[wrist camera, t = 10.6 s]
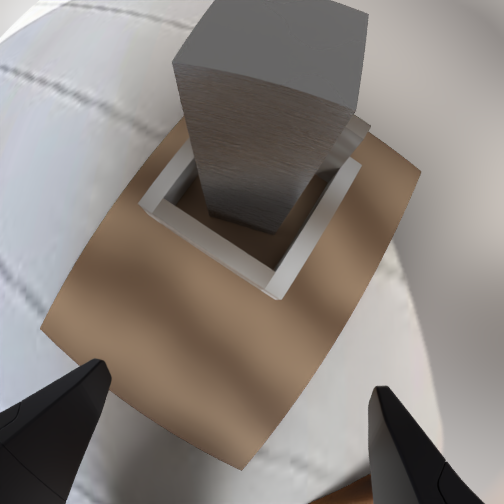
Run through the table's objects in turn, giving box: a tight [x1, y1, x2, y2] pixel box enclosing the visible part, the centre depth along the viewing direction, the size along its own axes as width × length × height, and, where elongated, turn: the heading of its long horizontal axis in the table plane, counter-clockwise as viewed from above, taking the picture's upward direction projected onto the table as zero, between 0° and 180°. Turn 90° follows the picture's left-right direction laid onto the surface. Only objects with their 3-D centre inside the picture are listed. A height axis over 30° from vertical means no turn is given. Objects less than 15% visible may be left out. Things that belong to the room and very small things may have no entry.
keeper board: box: [40, 114, 421, 471], centre depth 16 cm, size 24×16×8 cm, turn 147°
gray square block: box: [172, 0, 369, 235], centre depth 12 cm, size 4×4×13 cm
